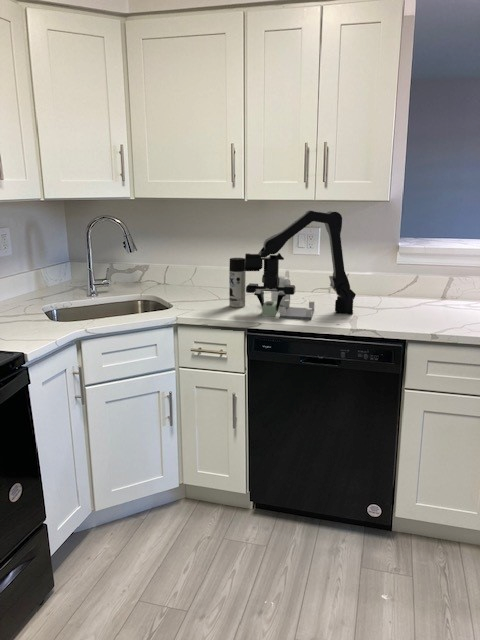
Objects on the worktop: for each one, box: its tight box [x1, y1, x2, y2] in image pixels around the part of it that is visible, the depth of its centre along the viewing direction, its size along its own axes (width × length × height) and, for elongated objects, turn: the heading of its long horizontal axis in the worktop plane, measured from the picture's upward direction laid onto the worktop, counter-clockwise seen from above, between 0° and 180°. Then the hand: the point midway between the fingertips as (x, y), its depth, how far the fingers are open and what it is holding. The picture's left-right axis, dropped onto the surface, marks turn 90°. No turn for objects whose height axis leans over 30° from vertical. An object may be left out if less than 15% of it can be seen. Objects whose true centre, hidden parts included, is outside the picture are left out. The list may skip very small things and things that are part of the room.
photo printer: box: [270, 274, 291, 307], centre depth 219 cm, size 10×4×12 cm, turn 29°
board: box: [261, 300, 279, 317], centre depth 203 cm, size 5×9×5 cm, turn 168°
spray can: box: [228, 257, 247, 309], centre depth 213 cm, size 7×7×20 cm
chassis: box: [278, 299, 315, 321], centre depth 202 cm, size 12×15×4 cm
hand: (270, 310), depth 203 cm, fingers closed on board, 5 cm apart
